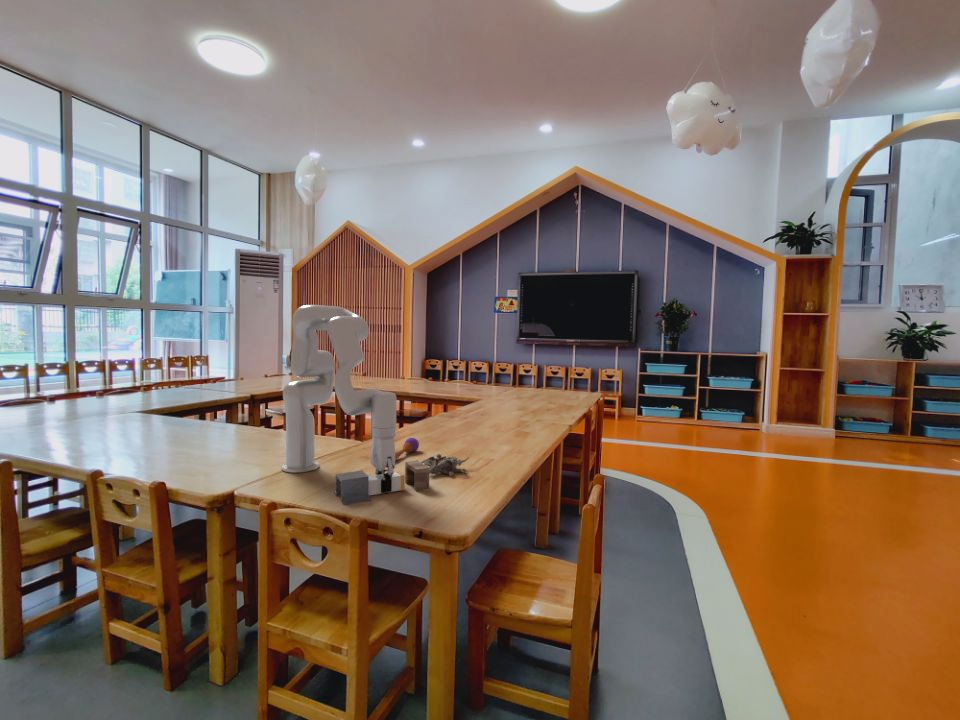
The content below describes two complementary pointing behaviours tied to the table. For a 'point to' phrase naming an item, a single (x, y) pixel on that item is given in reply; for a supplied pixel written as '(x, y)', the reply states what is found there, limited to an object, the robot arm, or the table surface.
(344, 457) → the table surface
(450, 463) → the figurine
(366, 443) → the table surface
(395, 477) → the white block
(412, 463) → the socket block
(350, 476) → the sleeve
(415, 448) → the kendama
